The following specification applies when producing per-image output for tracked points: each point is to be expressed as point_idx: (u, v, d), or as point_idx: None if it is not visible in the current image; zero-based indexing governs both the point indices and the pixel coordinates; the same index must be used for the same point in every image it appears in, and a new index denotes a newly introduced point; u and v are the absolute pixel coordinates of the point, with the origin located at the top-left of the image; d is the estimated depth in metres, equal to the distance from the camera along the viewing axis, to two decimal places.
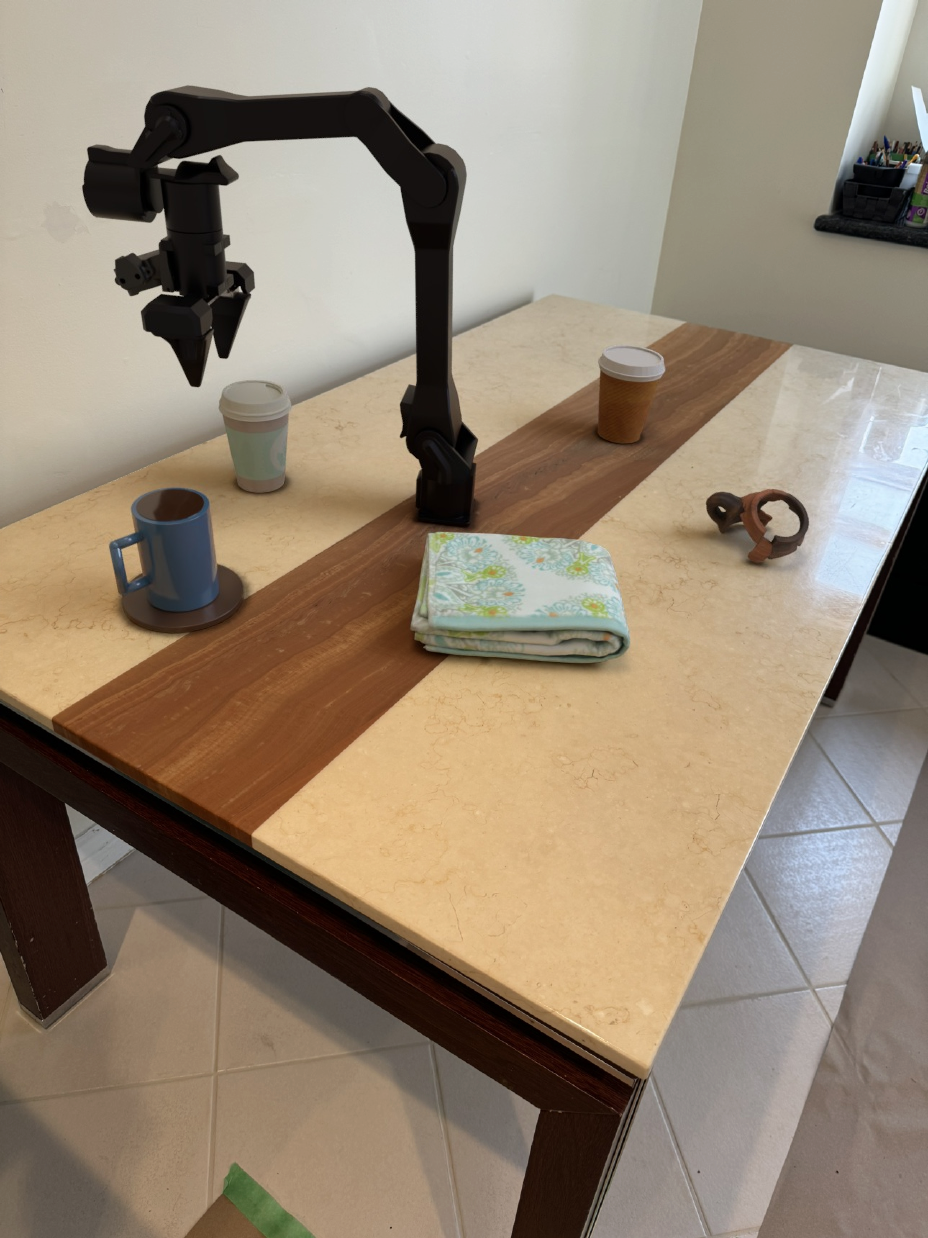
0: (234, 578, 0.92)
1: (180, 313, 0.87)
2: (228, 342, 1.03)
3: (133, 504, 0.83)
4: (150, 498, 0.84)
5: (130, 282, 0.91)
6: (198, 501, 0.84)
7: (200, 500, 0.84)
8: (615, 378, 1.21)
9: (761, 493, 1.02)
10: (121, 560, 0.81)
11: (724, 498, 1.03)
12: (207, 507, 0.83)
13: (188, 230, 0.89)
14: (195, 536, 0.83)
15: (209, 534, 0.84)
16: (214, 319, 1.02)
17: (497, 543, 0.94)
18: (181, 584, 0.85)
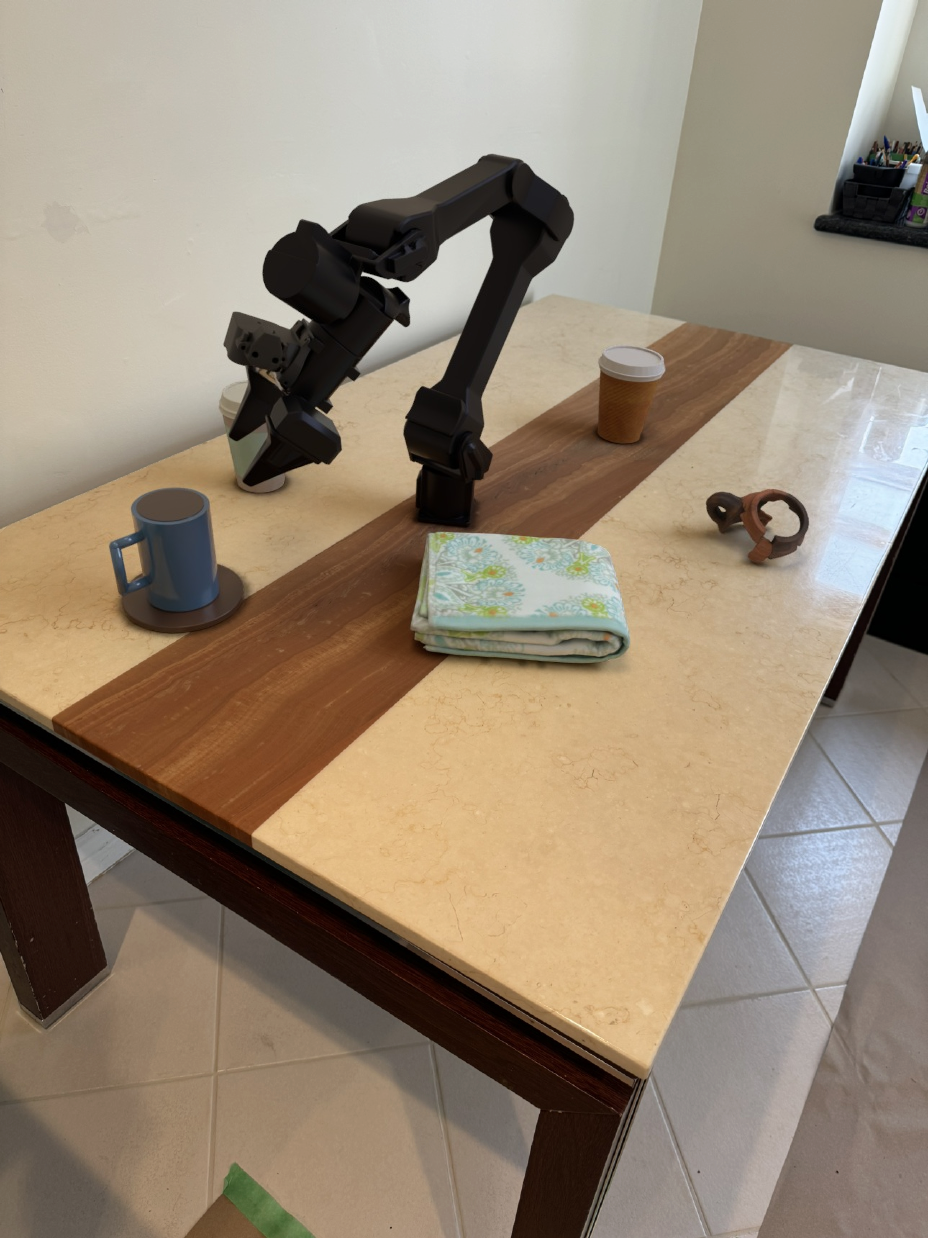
0: (234, 578, 0.92)
1: (330, 438, 0.77)
2: (250, 428, 0.89)
3: (133, 504, 0.83)
4: (150, 498, 0.84)
5: (262, 361, 0.76)
6: (198, 501, 0.84)
7: (200, 500, 0.84)
8: (615, 378, 1.21)
9: (761, 493, 1.02)
10: (121, 560, 0.81)
11: (724, 498, 1.03)
12: (207, 507, 0.83)
13: (359, 354, 0.81)
14: (195, 536, 0.83)
15: (209, 534, 0.84)
16: (252, 401, 0.88)
17: (497, 543, 0.94)
18: (181, 584, 0.85)
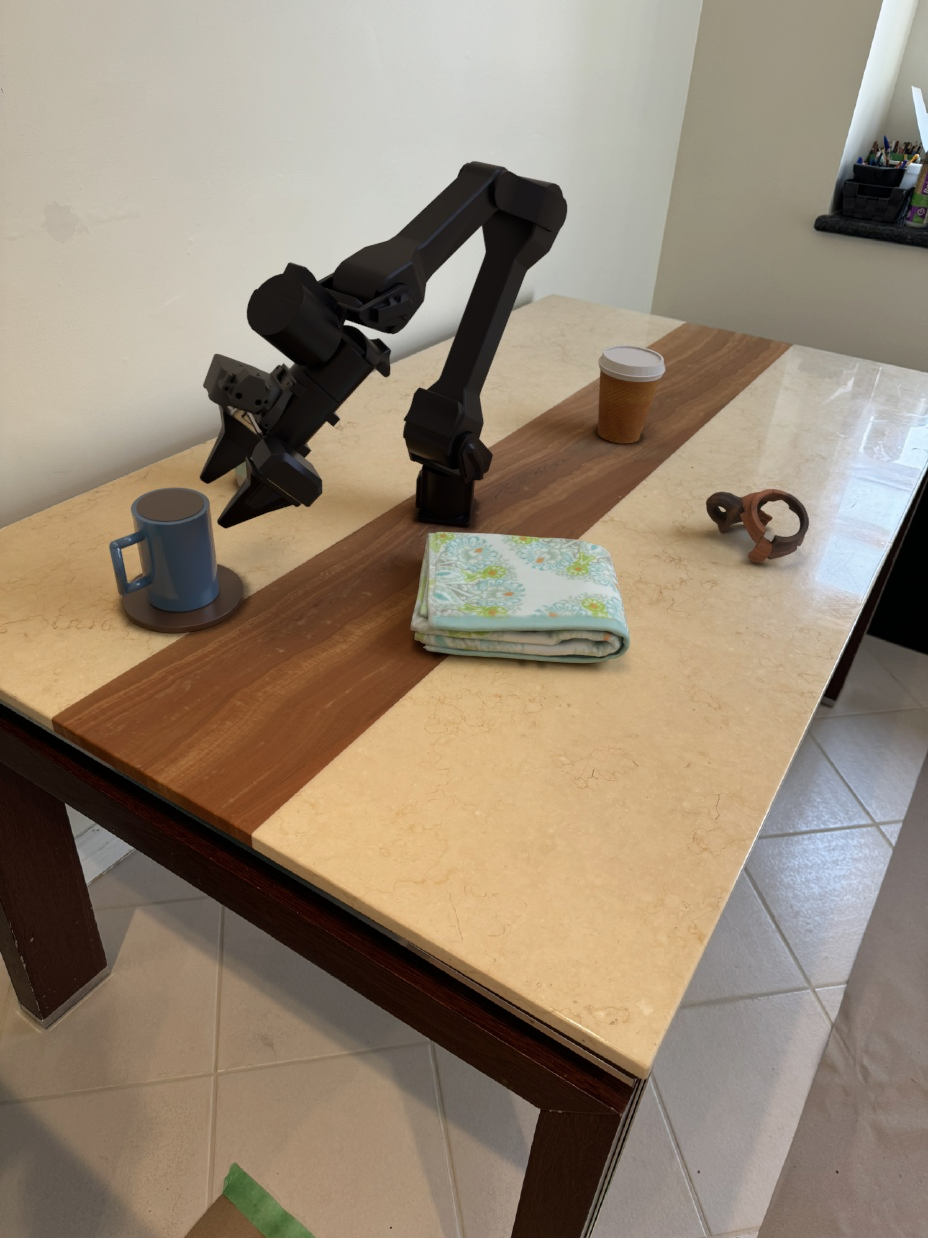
0: (234, 578, 0.92)
1: (312, 481, 0.77)
2: (222, 471, 0.88)
3: (133, 504, 0.83)
4: (150, 498, 0.84)
5: (245, 402, 0.76)
6: (198, 501, 0.84)
7: (200, 500, 0.84)
8: (615, 378, 1.21)
9: (761, 493, 1.02)
10: (121, 560, 0.81)
11: (724, 498, 1.03)
12: (207, 507, 0.83)
13: (339, 400, 0.81)
14: (195, 536, 0.83)
15: (209, 534, 0.84)
16: (225, 444, 0.87)
17: (497, 543, 0.94)
18: (181, 584, 0.85)
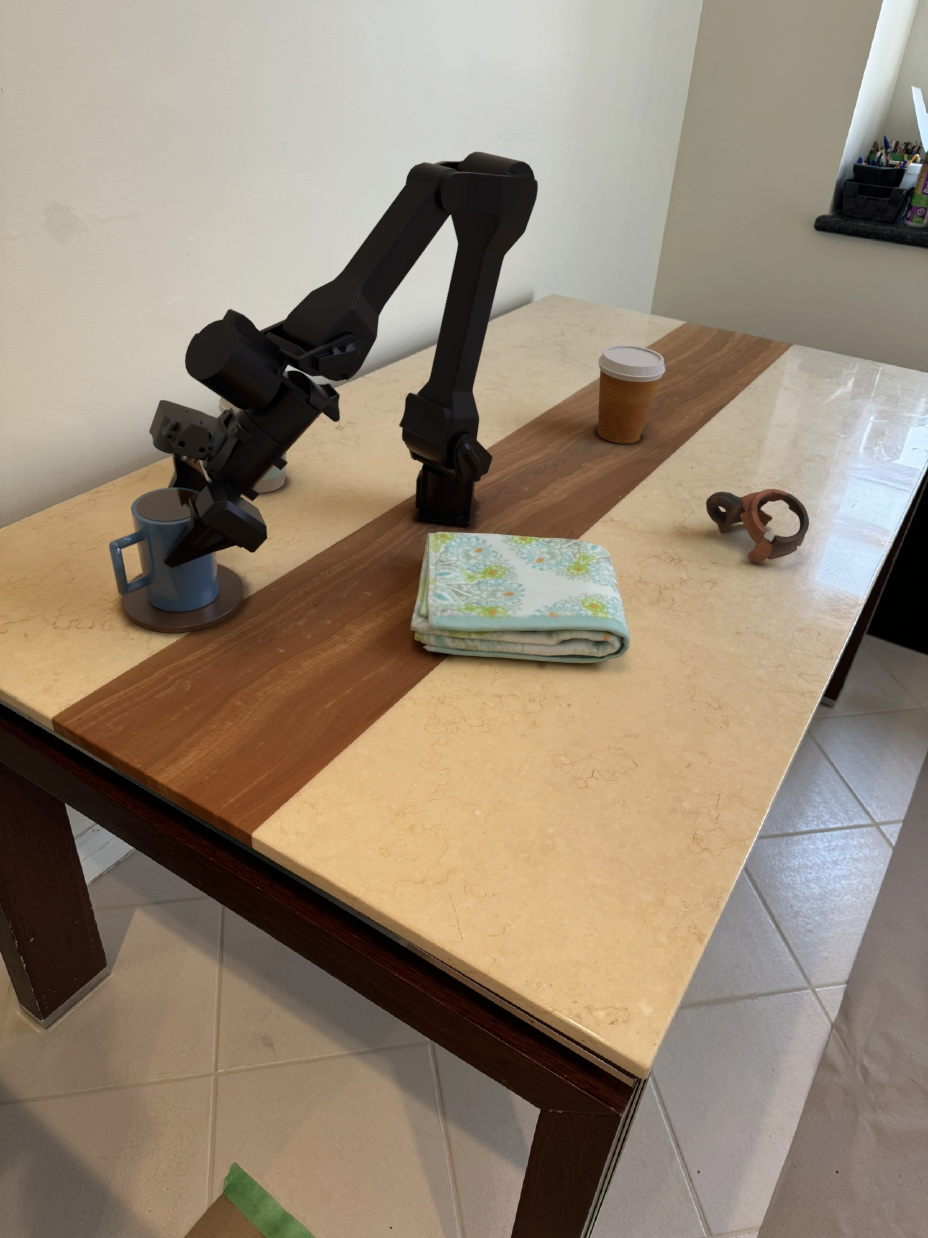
0: (234, 578, 0.92)
1: (256, 527, 0.78)
2: None
3: (133, 504, 0.83)
4: (150, 498, 0.84)
5: (189, 450, 0.76)
6: None
7: None
8: (615, 378, 1.21)
9: (761, 493, 1.02)
10: (121, 560, 0.81)
11: (724, 498, 1.03)
12: None
13: (284, 443, 0.82)
14: None
15: None
16: None
17: (497, 543, 0.94)
18: (181, 584, 0.85)
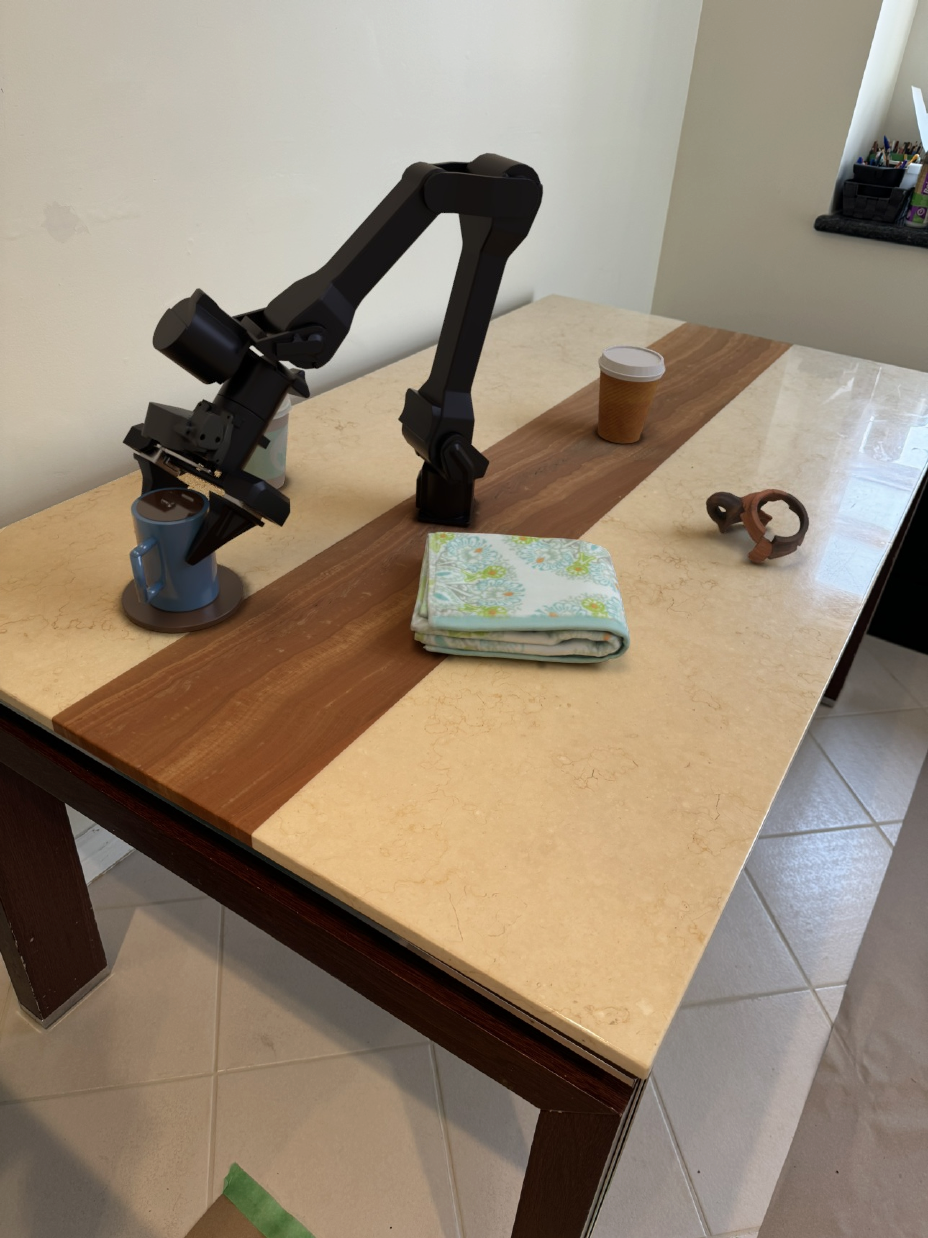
0: (234, 578, 0.92)
1: (285, 501, 0.82)
2: None
3: (132, 511, 0.82)
4: (145, 503, 0.83)
5: (208, 442, 0.78)
6: (194, 496, 0.85)
7: (195, 495, 0.85)
8: (615, 378, 1.21)
9: (761, 493, 1.02)
10: (143, 568, 0.81)
11: (724, 498, 1.03)
12: (207, 500, 0.85)
13: (261, 415, 0.84)
14: None
15: None
16: None
17: (497, 543, 0.94)
18: (197, 580, 0.85)
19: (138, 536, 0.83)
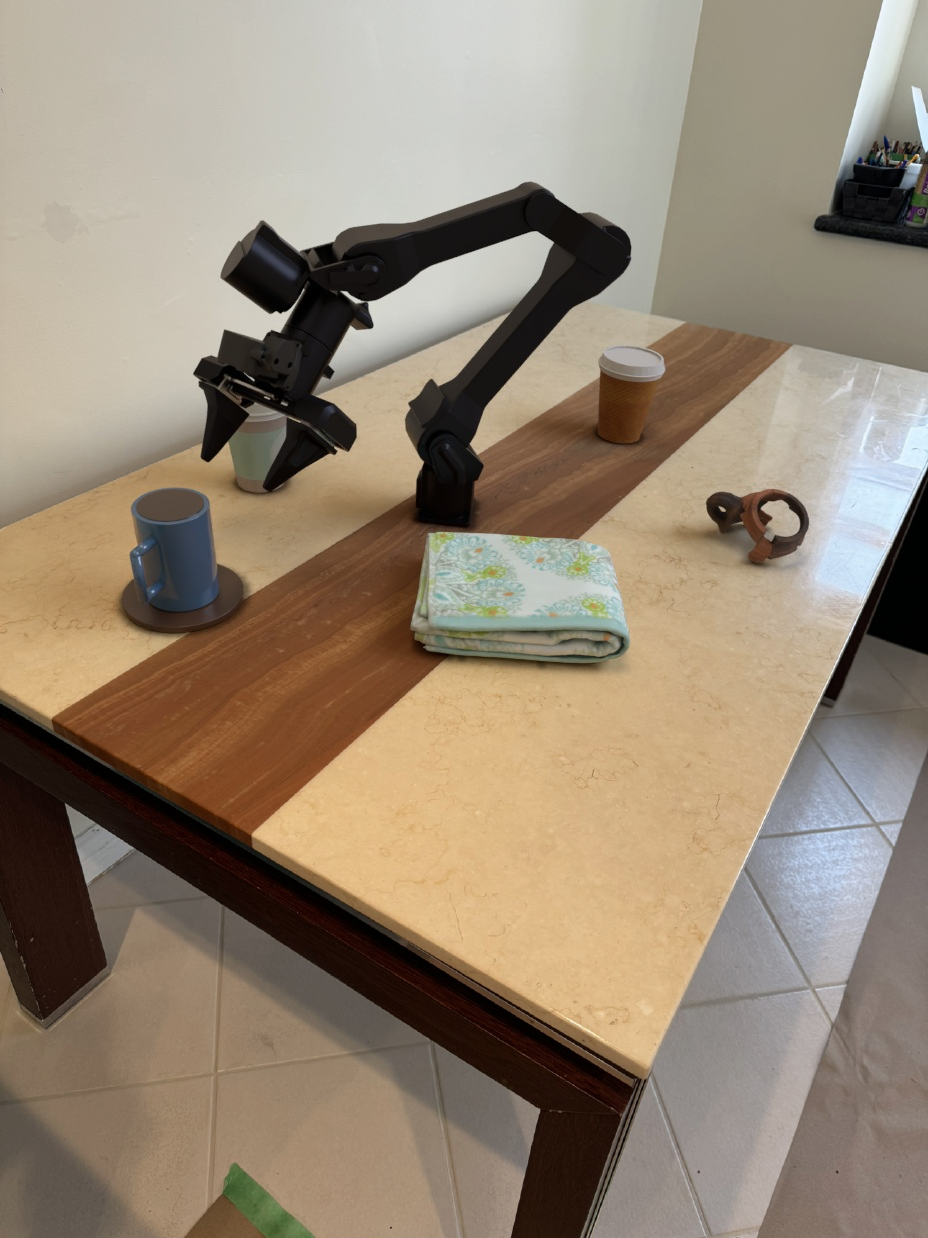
0: (234, 578, 0.92)
1: (352, 426, 0.86)
2: (219, 447, 0.91)
3: (132, 511, 0.82)
4: (145, 503, 0.83)
5: (281, 366, 0.82)
6: (194, 496, 0.85)
7: (195, 495, 0.85)
8: (615, 378, 1.21)
9: (761, 493, 1.02)
10: (143, 568, 0.81)
11: (724, 498, 1.03)
12: (207, 500, 0.85)
13: (324, 341, 0.87)
14: (206, 529, 0.84)
15: None
16: (219, 419, 0.90)
17: (497, 543, 0.94)
18: (197, 580, 0.85)
19: (138, 536, 0.83)
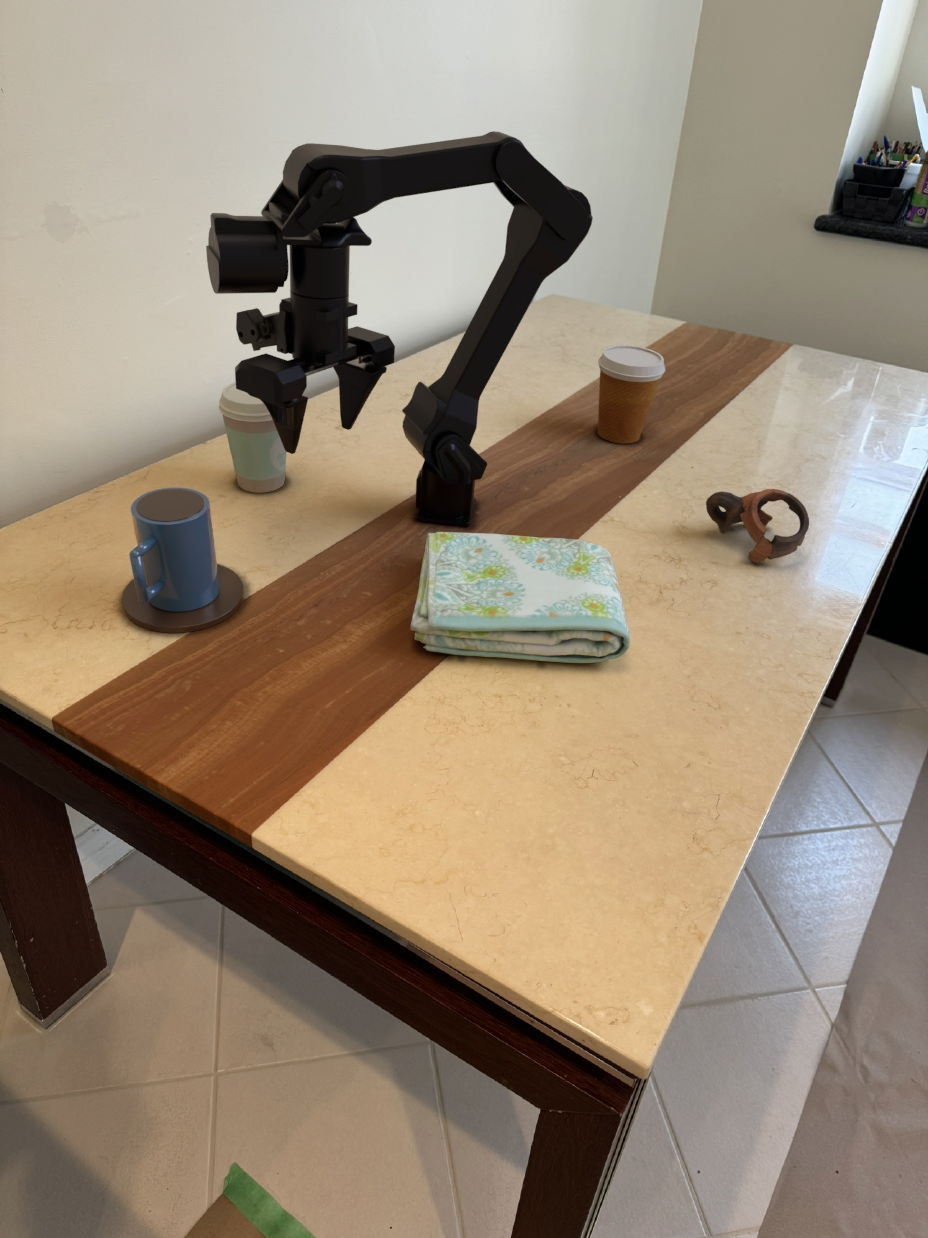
0: (234, 578, 0.92)
1: (265, 376, 0.82)
2: (351, 413, 0.96)
3: (132, 511, 0.82)
4: (145, 503, 0.83)
5: (246, 337, 0.88)
6: (194, 496, 0.85)
7: (195, 495, 0.85)
8: (615, 378, 1.21)
9: (761, 493, 1.02)
10: (143, 568, 0.81)
11: (724, 498, 1.03)
12: (207, 500, 0.85)
13: (332, 295, 0.84)
14: (206, 529, 0.84)
15: None
16: (343, 388, 0.96)
17: (497, 543, 0.94)
18: (197, 580, 0.85)
19: (138, 536, 0.83)
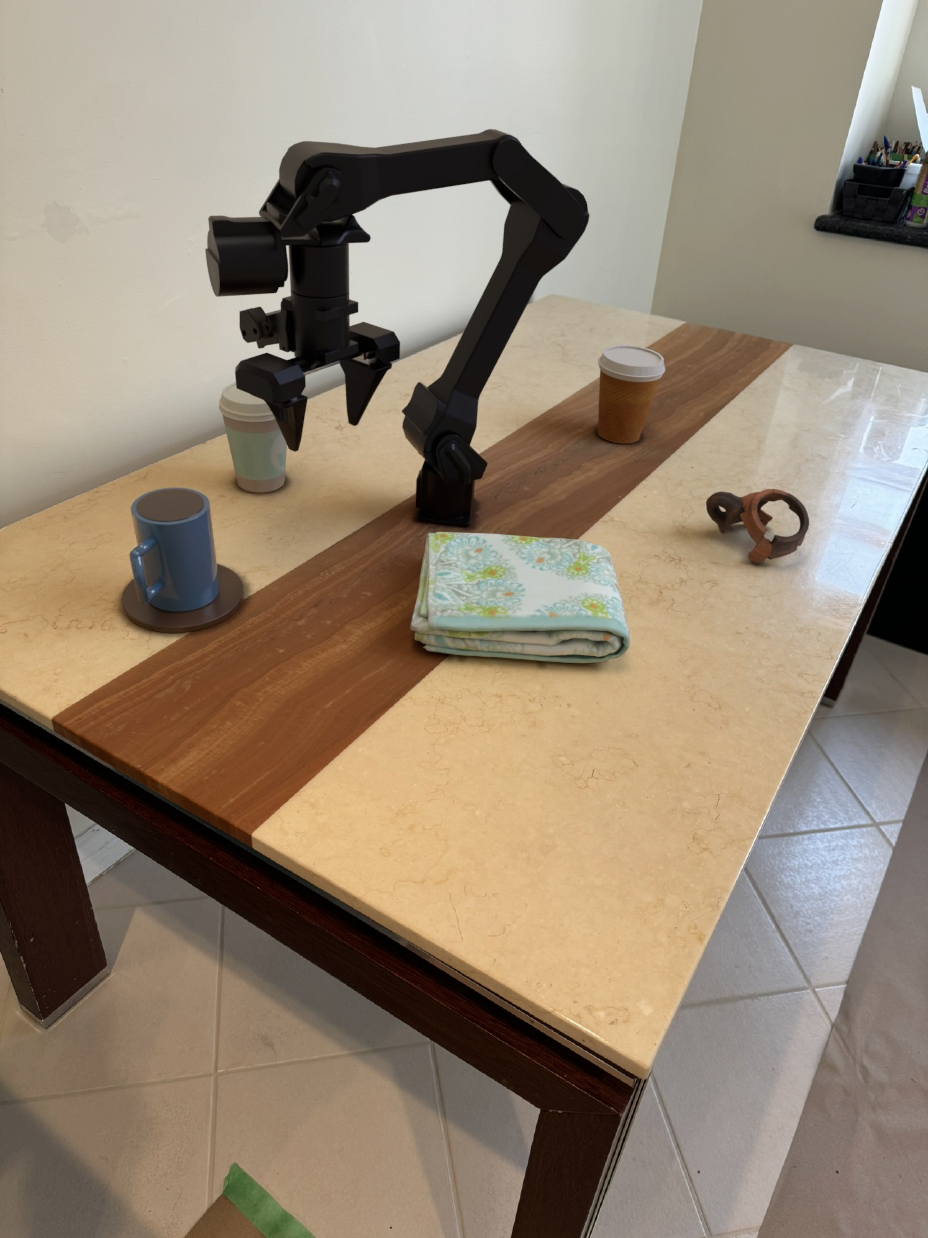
0: (234, 578, 0.92)
1: (262, 377, 0.82)
2: (357, 410, 0.96)
3: (132, 511, 0.82)
4: (145, 503, 0.83)
5: (249, 335, 0.88)
6: (194, 496, 0.85)
7: (195, 495, 0.85)
8: (615, 378, 1.21)
9: (761, 493, 1.02)
10: (143, 568, 0.81)
11: (724, 498, 1.03)
12: (207, 500, 0.85)
13: (333, 294, 0.84)
14: (206, 529, 0.84)
15: None
16: (349, 384, 0.96)
17: (497, 543, 0.94)
18: (197, 580, 0.85)
19: (138, 536, 0.83)
